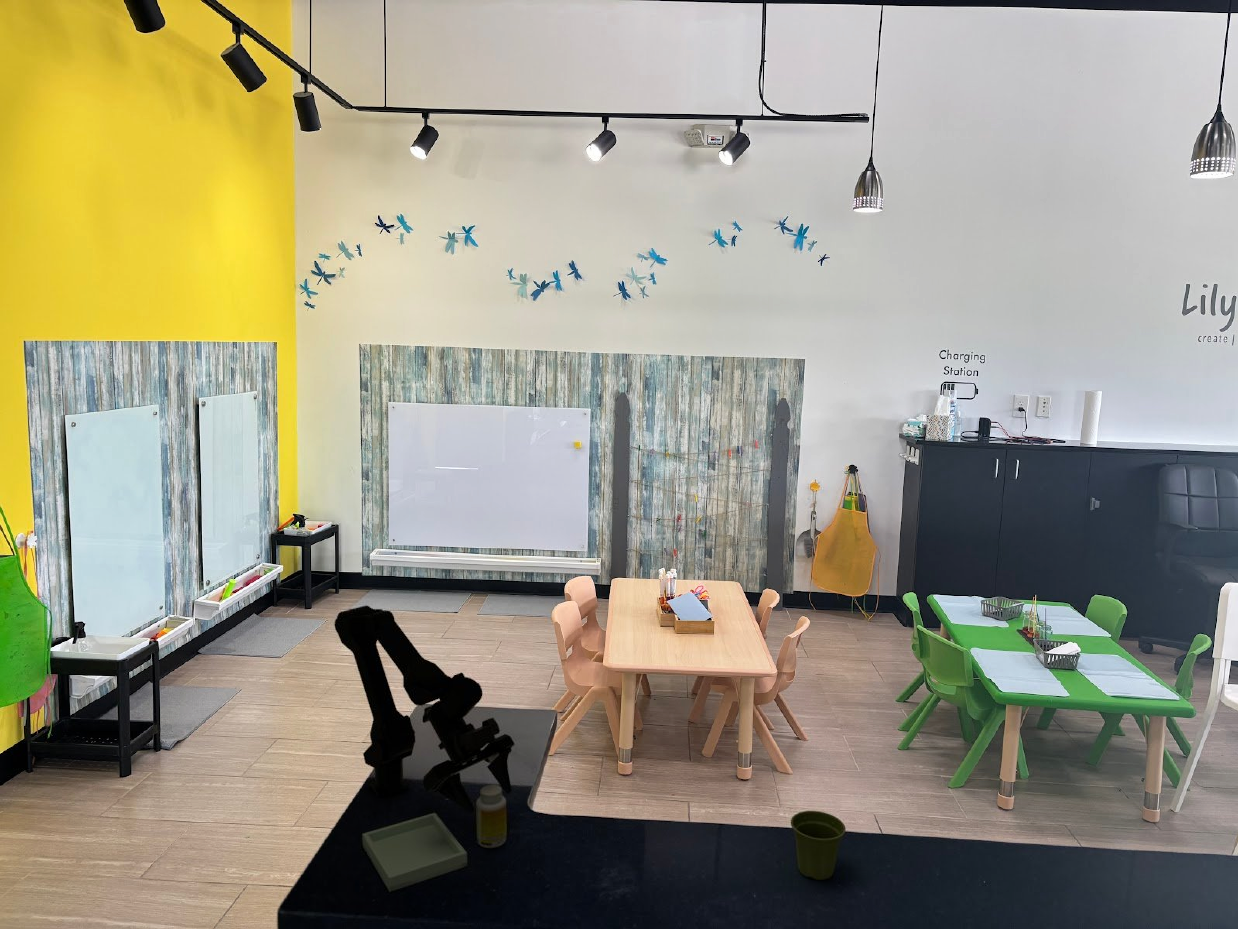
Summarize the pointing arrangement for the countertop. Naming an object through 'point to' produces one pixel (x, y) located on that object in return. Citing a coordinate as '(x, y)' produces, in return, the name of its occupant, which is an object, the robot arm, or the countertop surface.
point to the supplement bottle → (491, 817)
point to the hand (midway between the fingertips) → (491, 802)
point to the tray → (413, 851)
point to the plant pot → (817, 842)
